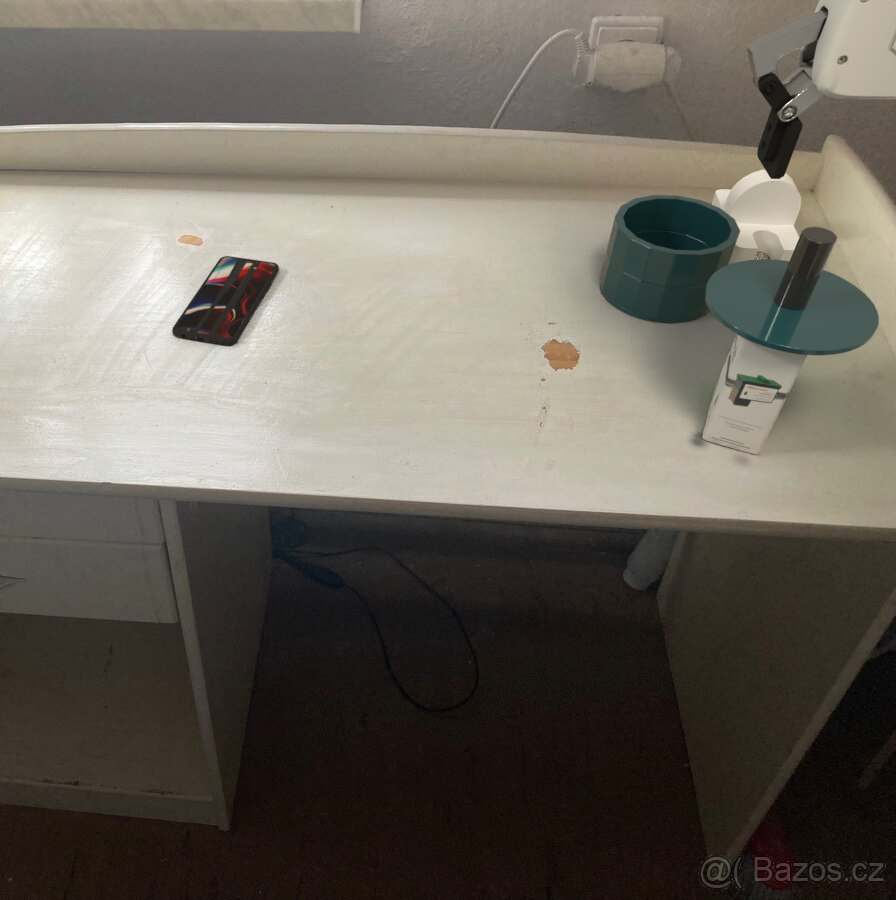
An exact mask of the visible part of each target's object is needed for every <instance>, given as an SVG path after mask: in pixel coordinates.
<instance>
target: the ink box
mask: <svg viewBox="0 0 896 900" xmlns="http://www.w3.org/2000/svg"><path fill="white" fill-rule="evenodd" d="M807 357H808V355H802V354H794V353H788V352H783V351H779V350H775V349H771V348H768V347H765V346H762V345H759V344H757V343H754V342H752V341H749V340H747V339H745V338H743V337H741V336H739V335H737V334H735V337H734V340H733V342H732V344H731V347H730V349H729V352H728V354H727V356H726V359H725V361H724V364H723V365H722V369H721V371H720V373H719V376H718V378H717V380H716V383H715V385H714V390H713V392H712V397H711V401H710V403H709V408H708V412H707V415H706V420H705V422H704V423H705V424H704V427H703V432H702V436H701V438H702V440H703V441H706V442H710V443H713V444H716V445H720V446H723V447H727V448H730V449H733V450H737V451H741V452H744V453H748V454H752V455H759V454H760V453H761V451H762V449H763V447H764V445H765V443H766V442H767V439H768V437H769V435H770V433H771V431H772V430H773V427H774V426H775V425H774V424H775V423H776V421H777V419H778V416H779V415H780V412H781V411H782V408H783V406H784V405H785V403H786V400H787V398H788V396H789V393H790V392H791V389H792V388H793V386H794V383H795V382H796V378H797V377H798V375H799V374H800V371H801V369H802V367H803V366H804V363H805V361H806V359H807Z"/></svg>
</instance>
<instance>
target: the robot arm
mask: <svg viewBox="0 0 896 900" xmlns="http://www.w3.org/2000/svg"><path fill="white" fill-rule="evenodd" d="M797 50H800V51H799V55H798V62H797V63H798V68H797V69H796V70H795V71H793V72H791V74H789V75H788V76H786V78H784V79H783V80H782V81H781V79H780V78H779V73H778V62H779V60H780V59H781V58H782V57H784V56H786V55H788V54H790V53H792V52H795V51H797ZM747 55H748V59H749V60H748V61H749V64H750V69H751V73H752V76H753V77H752V81H753V83H754V85H755V86H756V88H757V90H758V91H759V92H760V94H761V95H762V96H763V97H764V99H765V100H766V102H767V104H768V105H769V106H770V107H771V109H770V111H769V113H768V118H767V120H766V123H765V126H764V129H763V132H762V135H761V138H760V141H759V143H758V147H757V150H756V151H757V152H756V155H757V159H758V160H759V161H760V163H761V165H762V167H763V168H764V170H766V172H767V173H768V175H769V176H770V178H771V179H780V178H781V177H784V175H785V173H786V172H787V170H788V167H789V164H790V162H791V160H792V156H793V154H794V152H795V148H796V146H797V143H798V140H799V137H800V135H801V132H802V130H803V126H804V125H803V122H802V120H801V119H800V118H799V116H800V115H801V114H803V113H804V112H805V111H806V110H807V109H810V107H811V106H812V105H814V104H815V103H816V102H818V101H819V100H820V99H822V98H823V97H824V96H826V97H828V98H833V99H836V100H837V99H838V100H896V0H818V2H817V5H816V7H815V10H814V12H813V13H811V14H809V15H807V16H805V17H803V18H801V19H798V20H796V21H794V22H792V23H789V24H787V25H785V26H783V27H780V28H778V29H775V30H774V31H771V32H769V33H767V34H765V35H763V36H760V37H758V38H756V39H754V40H751V42H750V43H749V44H748V45H747ZM786 174H787V173H786Z"/></svg>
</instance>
